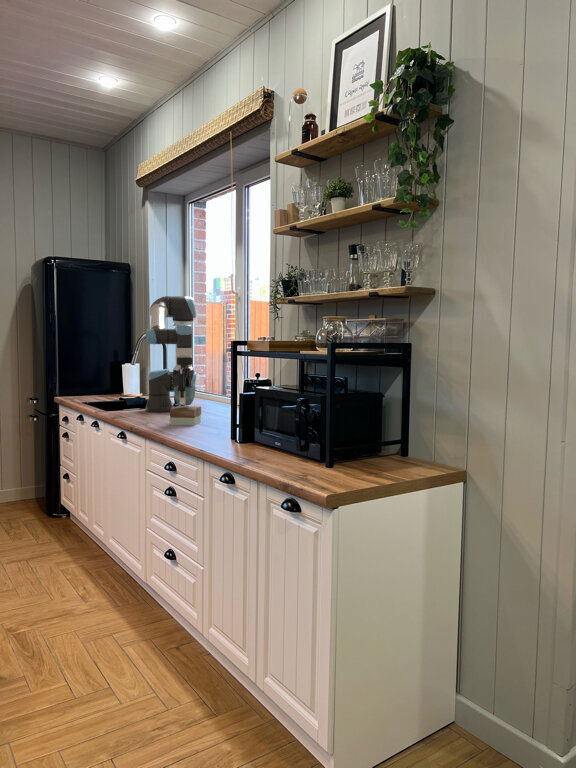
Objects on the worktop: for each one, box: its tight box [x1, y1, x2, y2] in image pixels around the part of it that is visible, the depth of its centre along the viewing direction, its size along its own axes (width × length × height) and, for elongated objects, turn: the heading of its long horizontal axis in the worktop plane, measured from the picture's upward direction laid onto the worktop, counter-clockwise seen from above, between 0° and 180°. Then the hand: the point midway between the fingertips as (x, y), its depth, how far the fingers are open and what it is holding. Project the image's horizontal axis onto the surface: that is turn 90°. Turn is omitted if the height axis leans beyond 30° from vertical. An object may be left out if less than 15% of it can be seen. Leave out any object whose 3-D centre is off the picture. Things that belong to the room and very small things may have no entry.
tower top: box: [169, 405, 202, 419], centre depth 285 cm, size 12×12×4 cm
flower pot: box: [173, 385, 197, 406], centre depth 285 cm, size 9×9×9 cm
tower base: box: [169, 414, 202, 426], centre depth 285 cm, size 12×12×4 cm
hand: (185, 403), depth 285 cm, fingers closed on flower pot, 8 cm apart
